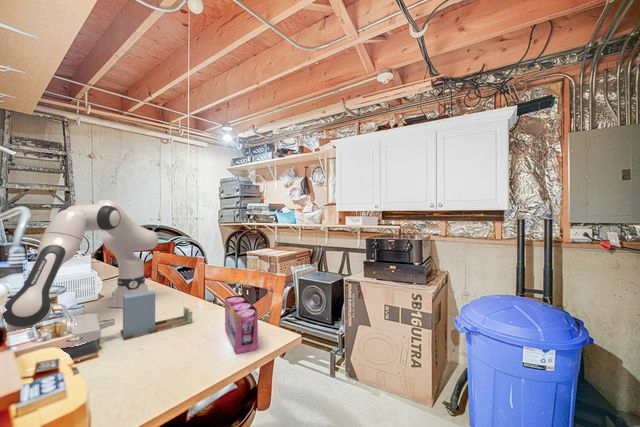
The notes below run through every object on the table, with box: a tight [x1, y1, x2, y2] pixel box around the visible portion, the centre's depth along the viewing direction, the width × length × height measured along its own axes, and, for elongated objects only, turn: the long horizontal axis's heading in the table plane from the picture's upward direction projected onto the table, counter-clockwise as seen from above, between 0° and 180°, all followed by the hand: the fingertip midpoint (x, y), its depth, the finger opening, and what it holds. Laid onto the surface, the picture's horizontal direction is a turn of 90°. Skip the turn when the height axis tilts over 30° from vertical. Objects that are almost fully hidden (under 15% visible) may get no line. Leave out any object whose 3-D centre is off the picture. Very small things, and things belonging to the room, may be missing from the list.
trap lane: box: [120, 306, 193, 341], centre depth 112 cm, size 9×24×6 cm, turn 132°
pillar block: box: [122, 290, 156, 337], centre depth 108 cm, size 5×10×15 cm, turn 132°
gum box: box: [224, 294, 259, 355], centre depth 103 cm, size 24×8×14 cm, turn 28°
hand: (114, 321), depth 103 cm, fingers closed
